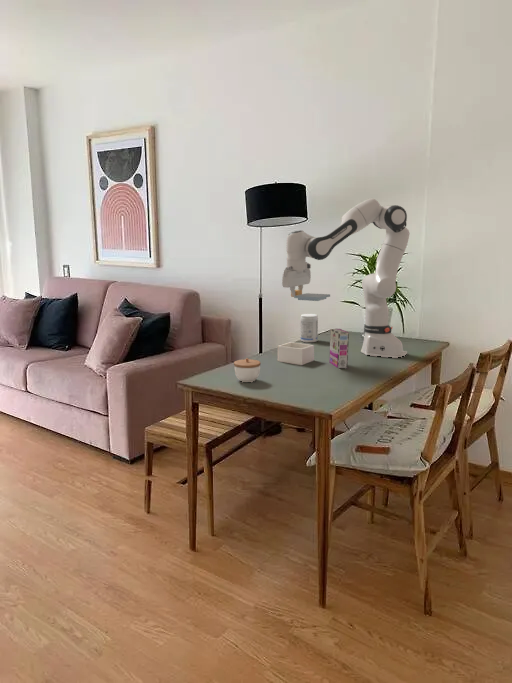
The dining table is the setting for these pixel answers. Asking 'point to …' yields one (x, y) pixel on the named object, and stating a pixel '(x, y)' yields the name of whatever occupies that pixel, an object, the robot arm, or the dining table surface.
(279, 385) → the dining table surface
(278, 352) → the tub
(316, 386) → the dining table surface
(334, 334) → the candy bar box
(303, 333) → the supplement tub
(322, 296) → the lid
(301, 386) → the dining table surface
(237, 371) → the lidded jar
